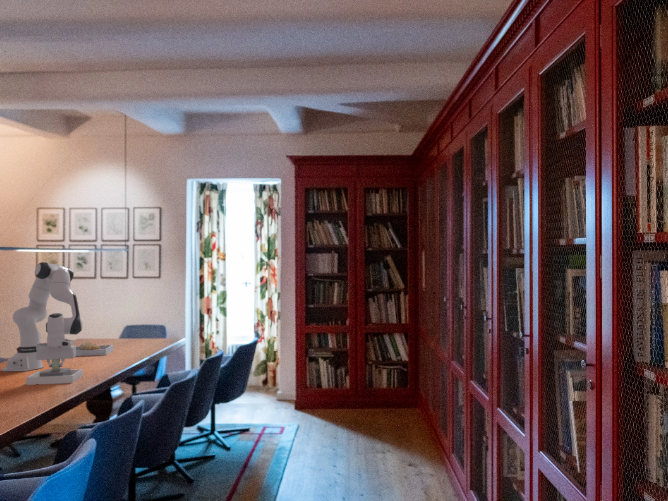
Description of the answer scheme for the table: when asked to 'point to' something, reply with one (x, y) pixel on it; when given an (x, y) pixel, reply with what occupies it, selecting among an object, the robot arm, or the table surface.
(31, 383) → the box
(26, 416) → the table surface
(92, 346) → the nautilus
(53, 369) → the peg
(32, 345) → the robot arm
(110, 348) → the shell tray
